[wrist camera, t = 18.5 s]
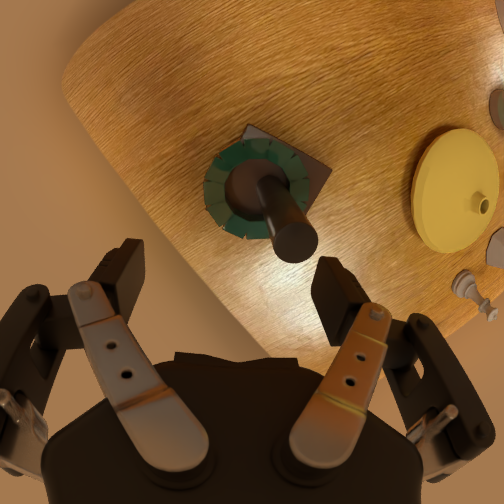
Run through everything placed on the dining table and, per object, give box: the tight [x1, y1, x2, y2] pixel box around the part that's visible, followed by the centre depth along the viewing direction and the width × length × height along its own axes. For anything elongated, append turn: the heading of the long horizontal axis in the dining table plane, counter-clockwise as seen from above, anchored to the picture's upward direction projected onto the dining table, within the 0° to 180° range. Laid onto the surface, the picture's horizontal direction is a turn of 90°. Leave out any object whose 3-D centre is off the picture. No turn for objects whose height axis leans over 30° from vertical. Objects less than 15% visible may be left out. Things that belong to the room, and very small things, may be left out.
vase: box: [410, 128, 499, 253], centre depth 25 cm, size 16×16×7 cm
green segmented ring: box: [203, 137, 310, 240], centre depth 25 cm, size 9×9×2 cm
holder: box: [205, 124, 332, 263], centre depth 21 cm, size 9×9×13 cm
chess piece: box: [452, 270, 498, 321], centre depth 31 cm, size 4×4×10 cm
